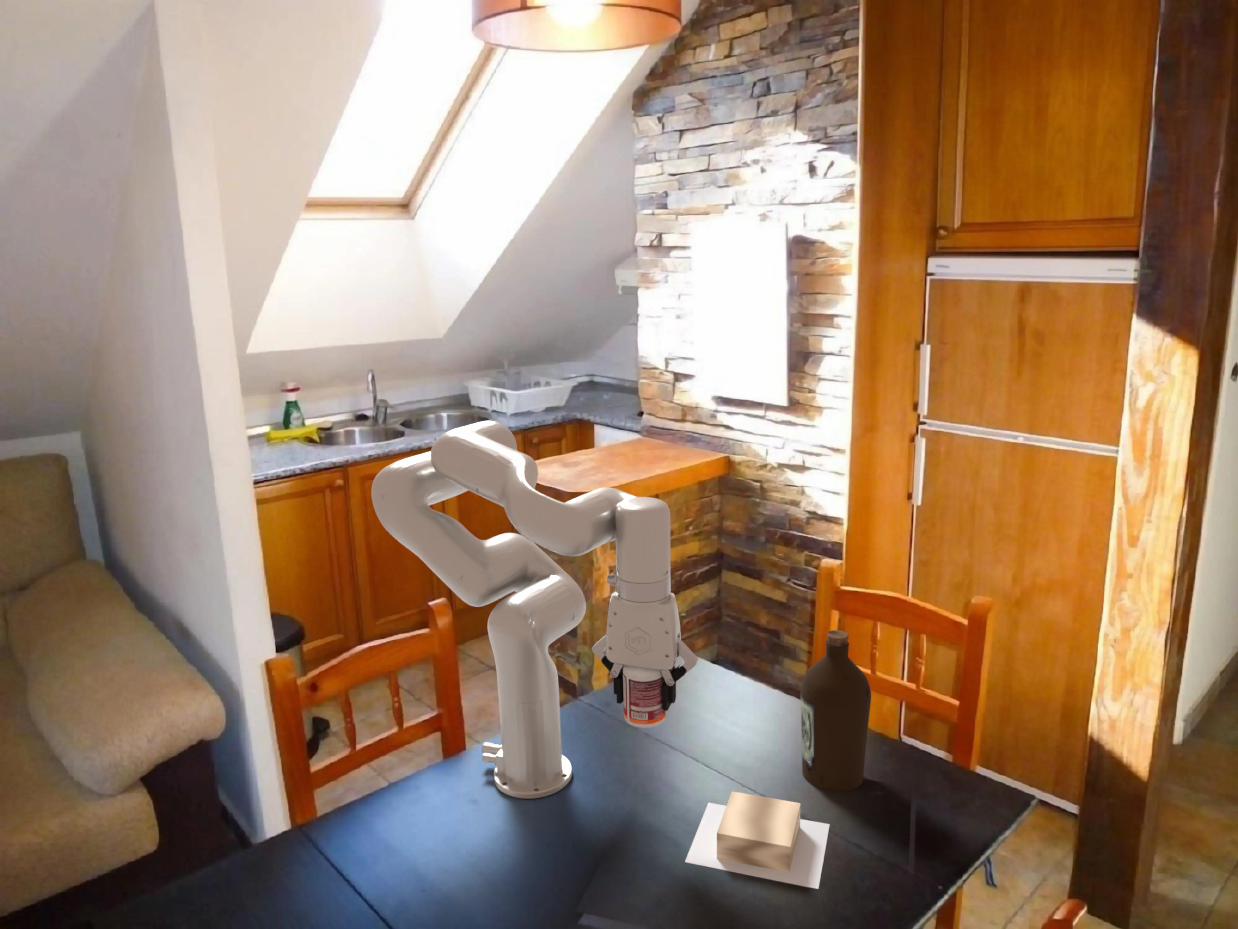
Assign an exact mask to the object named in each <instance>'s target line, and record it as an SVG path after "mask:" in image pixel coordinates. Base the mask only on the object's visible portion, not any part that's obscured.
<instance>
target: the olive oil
mask: <svg viewBox="0 0 1238 929" xmlns="http://www.w3.org/2000/svg"><path fill="white" fill-rule="evenodd" d="M826 639H827V640H826V641H825V655H824V656H823V657H822V658H820V659H819V660H818V661H817V662H815V663H814V664H812V666H810V667H809V669H807V670H806V673H805V674H804V676H803V679H802V682H801V685H800V693H799V694H800V714H801V715H800V719H801V761H802V762H801V764H802V765H801V766H802V768H801V771H802V772H801V773H802V776H803V778H804V780H805V781H806V782H808V784H810V785H811V786H813V787H815V788H817V789H820V790H824V791H828V792H833V793H834V792H835V793H839V792H840V793H841V792H842V793H843V792H848V791H853V790H855V789H857V788H859V787H860V786H861V785H862V783H863V782H864V774H865V773H864V772H865V760H866V759H865V758H866V751H867V750H866V749H867V739H868V738H867V737H868V730H869V721H870V720H869V719H870V711H871V703H872V691H871V690H872V689H871V687H870V682H869V680H868V677H867V676H866V674H865V673H864V672H863V670H862V669H860V667H859V666H857V664H855V663H854V662H853V660H851V659H850V657H849V651H850V650H849V648H850V643H849V634H848V633H847V632H846V631H843V630H839V629H836V630H830V631H828V632H827V633H826Z"/></svg>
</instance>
